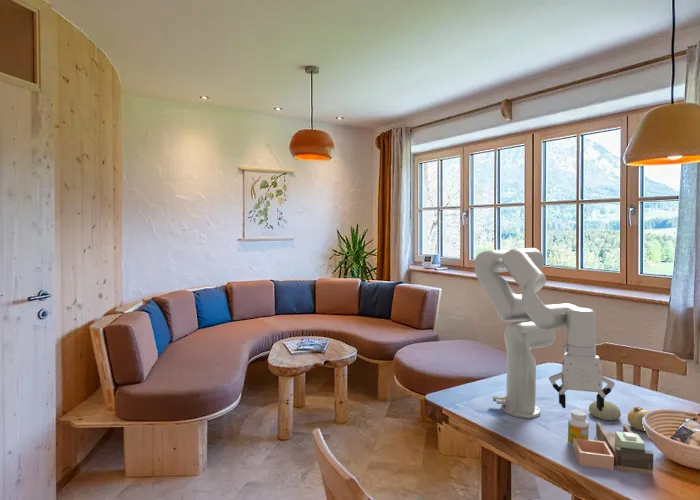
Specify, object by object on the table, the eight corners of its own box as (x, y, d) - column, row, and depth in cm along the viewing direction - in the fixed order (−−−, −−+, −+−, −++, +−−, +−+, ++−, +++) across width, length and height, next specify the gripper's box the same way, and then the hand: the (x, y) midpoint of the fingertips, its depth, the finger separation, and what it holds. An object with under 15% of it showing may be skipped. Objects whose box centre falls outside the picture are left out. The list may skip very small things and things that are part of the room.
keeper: (644, 465, 114) (645, 440, 114) (621, 462, 116) (621, 438, 116) (636, 454, 120) (637, 431, 119) (614, 452, 121) (615, 428, 121)
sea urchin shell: (591, 402, 154) (609, 390, 150) (608, 422, 150) (627, 411, 146) (582, 409, 148) (601, 398, 143) (599, 431, 144) (619, 420, 139)
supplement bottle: (563, 441, 130) (564, 409, 130) (578, 438, 132) (579, 407, 131) (576, 450, 125) (577, 417, 124) (592, 447, 126) (593, 415, 126)
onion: (643, 422, 142) (644, 401, 142) (664, 434, 134) (664, 412, 134) (621, 424, 141) (622, 403, 140) (641, 436, 133) (641, 413, 133)
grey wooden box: (652, 474, 113) (653, 454, 112) (616, 469, 115) (617, 449, 115) (626, 437, 132) (627, 420, 131) (595, 434, 134) (596, 416, 134)
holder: (579, 465, 117) (580, 452, 117) (572, 449, 125) (573, 437, 125) (613, 469, 115) (614, 456, 115) (604, 453, 123) (605, 441, 123)
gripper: (551, 352, 125) (551, 410, 126) (618, 355, 120) (618, 416, 121) (546, 345, 132) (547, 400, 133) (610, 348, 127) (610, 405, 128)
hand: (581, 407), depth 127 cm, fingers open, 9 cm apart
